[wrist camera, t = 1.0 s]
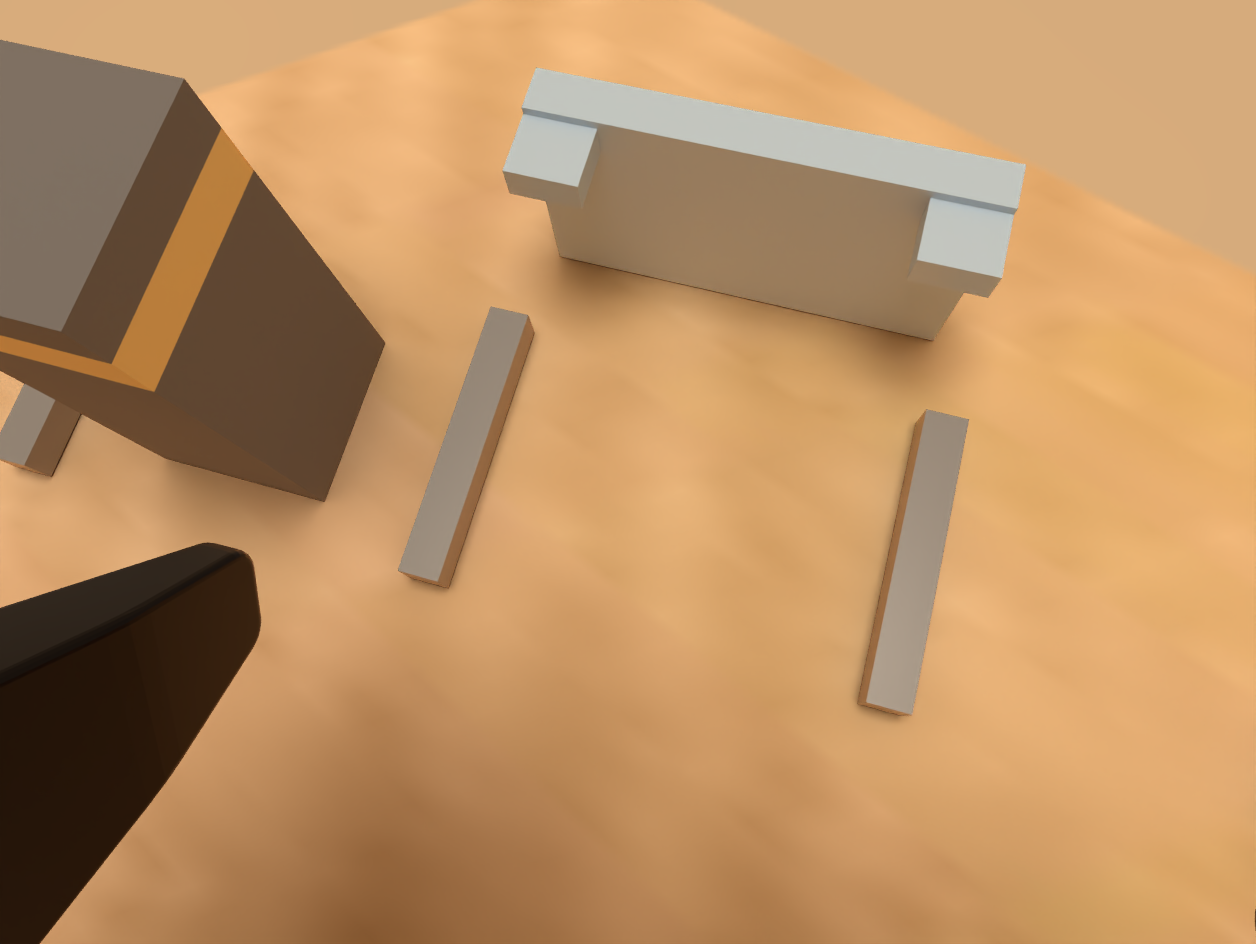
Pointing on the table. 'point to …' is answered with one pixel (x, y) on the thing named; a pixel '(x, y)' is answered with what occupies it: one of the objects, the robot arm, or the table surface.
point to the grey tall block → (167, 278)
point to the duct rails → (720, 288)
